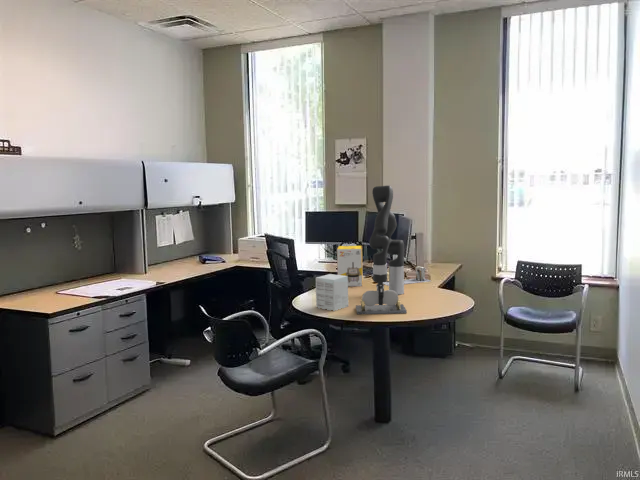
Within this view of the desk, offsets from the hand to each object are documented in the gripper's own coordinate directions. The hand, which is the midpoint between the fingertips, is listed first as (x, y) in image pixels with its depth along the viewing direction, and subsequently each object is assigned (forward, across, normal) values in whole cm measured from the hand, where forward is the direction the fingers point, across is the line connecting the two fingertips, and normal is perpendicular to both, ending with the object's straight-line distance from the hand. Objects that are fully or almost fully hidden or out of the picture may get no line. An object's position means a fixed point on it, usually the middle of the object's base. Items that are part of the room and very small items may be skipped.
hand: (380, 304), depth 288 cm
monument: (+4, -76, +25) cm, 80 cm away
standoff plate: (+4, 0, 0) cm, 4 cm away
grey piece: (+1, 0, 0) cm, 1 cm away
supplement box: (+4, -10, -26) cm, 28 cm away
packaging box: (+4, -75, -13) cm, 76 cm away
